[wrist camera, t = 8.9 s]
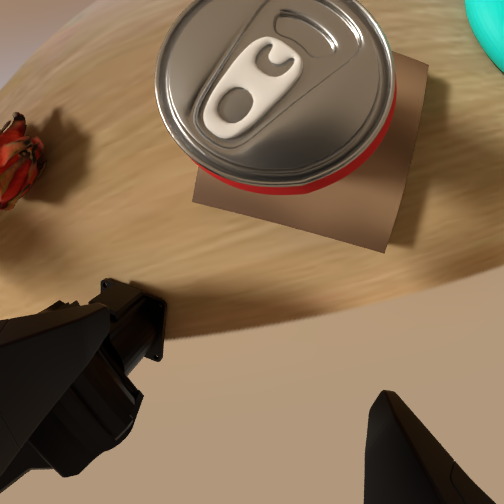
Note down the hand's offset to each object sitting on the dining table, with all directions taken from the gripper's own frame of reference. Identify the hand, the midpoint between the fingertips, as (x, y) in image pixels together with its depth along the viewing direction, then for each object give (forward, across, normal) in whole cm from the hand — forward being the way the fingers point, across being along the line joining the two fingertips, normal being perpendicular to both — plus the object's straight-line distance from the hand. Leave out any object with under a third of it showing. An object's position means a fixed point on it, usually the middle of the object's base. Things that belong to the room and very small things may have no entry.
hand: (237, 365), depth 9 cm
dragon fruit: (+13, +26, -2) cm, 29 cm away
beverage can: (+11, +1, -8) cm, 13 cm away
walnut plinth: (+13, 0, -8) cm, 15 cm away
